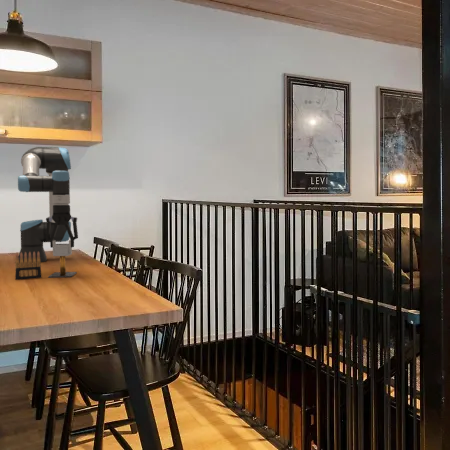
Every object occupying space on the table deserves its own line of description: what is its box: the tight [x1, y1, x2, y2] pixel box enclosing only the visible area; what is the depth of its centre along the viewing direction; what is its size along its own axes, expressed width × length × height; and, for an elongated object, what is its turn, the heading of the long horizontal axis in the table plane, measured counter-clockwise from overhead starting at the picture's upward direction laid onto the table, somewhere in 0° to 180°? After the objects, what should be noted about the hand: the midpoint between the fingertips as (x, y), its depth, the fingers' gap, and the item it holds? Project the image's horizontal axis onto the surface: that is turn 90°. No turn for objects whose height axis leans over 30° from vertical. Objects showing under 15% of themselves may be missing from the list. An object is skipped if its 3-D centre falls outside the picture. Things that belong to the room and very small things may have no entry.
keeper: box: [47, 256, 78, 279], centre depth 218 cm, size 12×10×11 cm
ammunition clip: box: [14, 251, 43, 281], centre depth 210 cm, size 11×2×12 cm, turn 118°
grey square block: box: [52, 243, 70, 257], centre depth 218 cm, size 6×6×5 cm
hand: (62, 254), depth 218 cm, fingers closed on grey square block, 6 cm apart
